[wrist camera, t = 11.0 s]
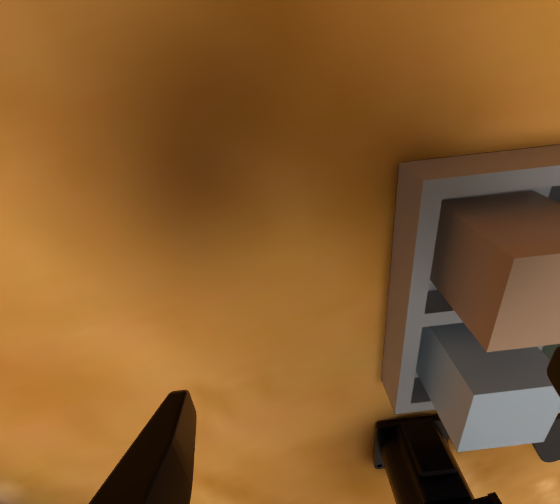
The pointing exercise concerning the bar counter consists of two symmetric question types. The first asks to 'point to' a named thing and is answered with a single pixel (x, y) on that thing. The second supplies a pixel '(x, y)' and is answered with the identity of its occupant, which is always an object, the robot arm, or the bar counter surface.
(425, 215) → the grid tray
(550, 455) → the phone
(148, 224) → the bar counter surface
